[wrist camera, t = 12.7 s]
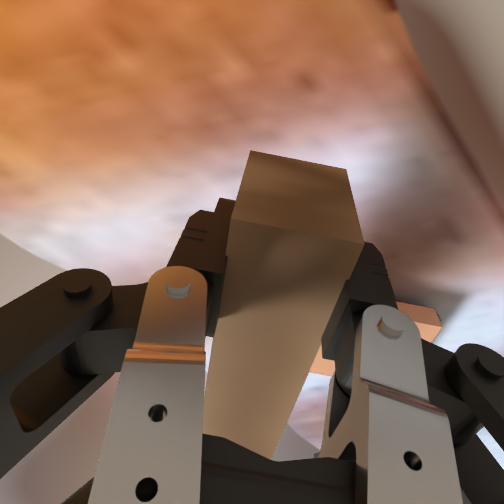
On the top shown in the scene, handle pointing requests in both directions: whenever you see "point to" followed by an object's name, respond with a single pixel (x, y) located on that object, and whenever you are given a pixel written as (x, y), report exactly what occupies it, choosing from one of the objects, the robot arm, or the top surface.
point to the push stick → (277, 294)
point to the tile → (419, 314)
